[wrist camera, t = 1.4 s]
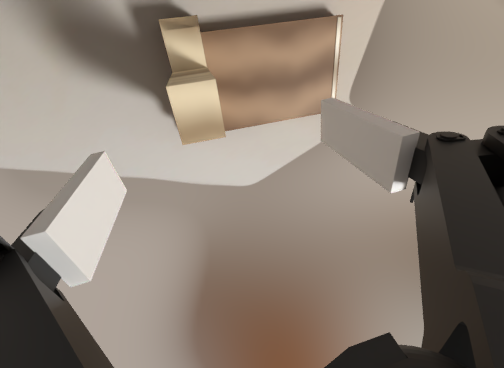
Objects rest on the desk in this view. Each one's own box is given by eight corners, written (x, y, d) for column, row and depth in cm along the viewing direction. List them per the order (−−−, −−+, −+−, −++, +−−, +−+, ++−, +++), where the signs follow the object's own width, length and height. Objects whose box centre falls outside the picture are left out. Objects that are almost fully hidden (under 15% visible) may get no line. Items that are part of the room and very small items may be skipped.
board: (165, 37, 28) (163, 36, 26) (334, 16, 31) (343, 14, 29) (190, 132, 34) (190, 137, 32) (328, 107, 37) (335, 111, 36)
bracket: (161, 21, 27) (142, 8, 16) (196, 17, 27) (201, 2, 16) (188, 123, 33) (188, 164, 22) (215, 118, 34) (229, 156, 23)
